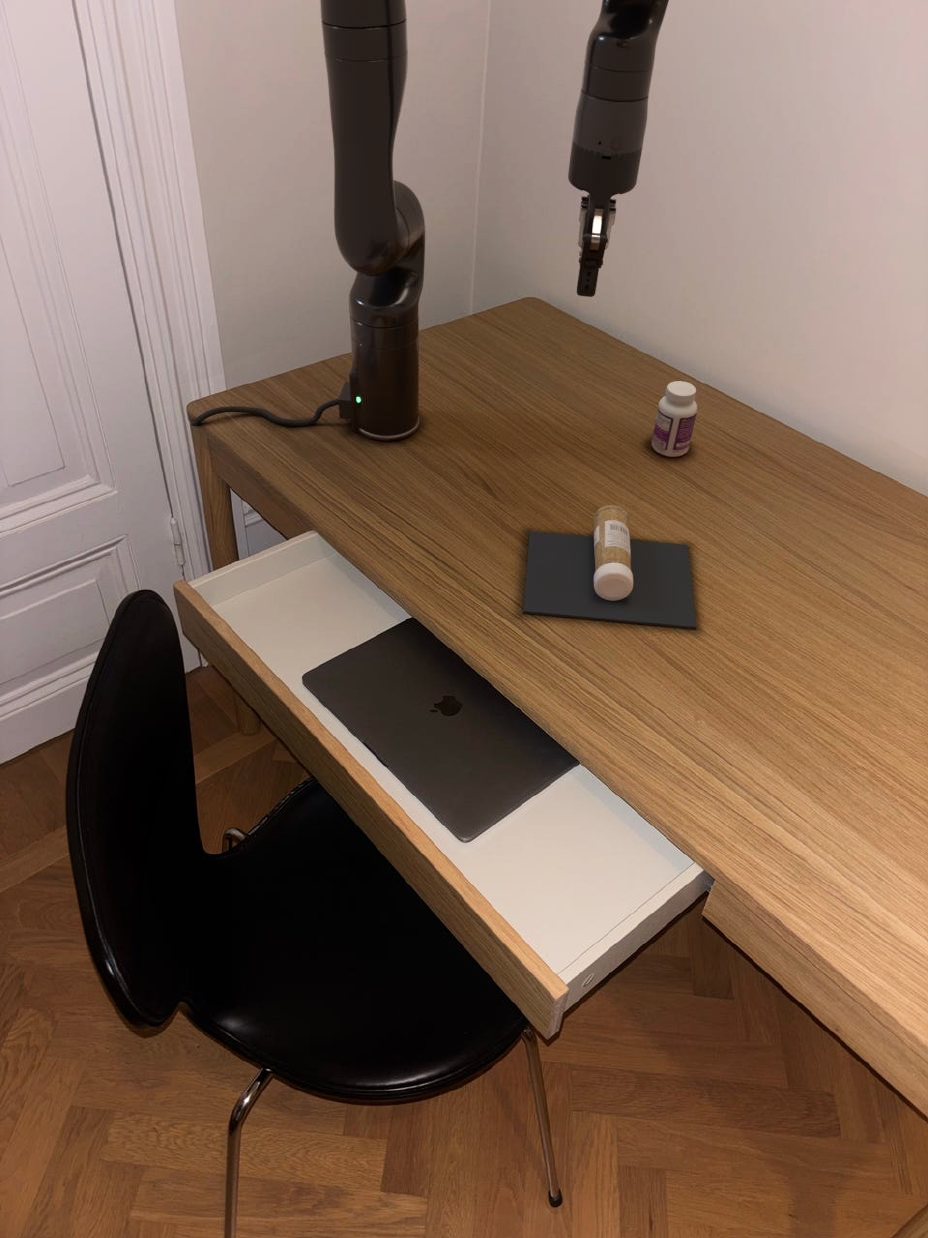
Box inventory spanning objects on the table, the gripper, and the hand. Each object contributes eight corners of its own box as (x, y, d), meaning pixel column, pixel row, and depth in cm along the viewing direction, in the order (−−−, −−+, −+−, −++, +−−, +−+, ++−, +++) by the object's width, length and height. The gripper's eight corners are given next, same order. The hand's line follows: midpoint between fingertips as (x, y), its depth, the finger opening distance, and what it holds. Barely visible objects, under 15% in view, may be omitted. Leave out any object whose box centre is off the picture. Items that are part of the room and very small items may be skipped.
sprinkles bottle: (585, 518, 120) (585, 588, 110) (611, 497, 117) (613, 566, 108) (611, 538, 122) (613, 608, 112) (637, 517, 119) (641, 587, 109)
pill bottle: (687, 438, 138) (700, 379, 131) (689, 459, 134) (703, 399, 127) (649, 435, 138) (661, 376, 131) (651, 456, 134) (663, 396, 128)
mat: (522, 613, 110) (523, 610, 110) (529, 533, 121) (529, 530, 121) (695, 629, 109) (696, 627, 109) (687, 547, 120) (687, 544, 120)
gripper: (574, 115, 106) (556, 267, 118) (570, 155, 96) (551, 316, 108) (642, 121, 105) (617, 273, 117) (644, 162, 96) (616, 322, 108)
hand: (585, 293), depth 113 cm, fingers closed
